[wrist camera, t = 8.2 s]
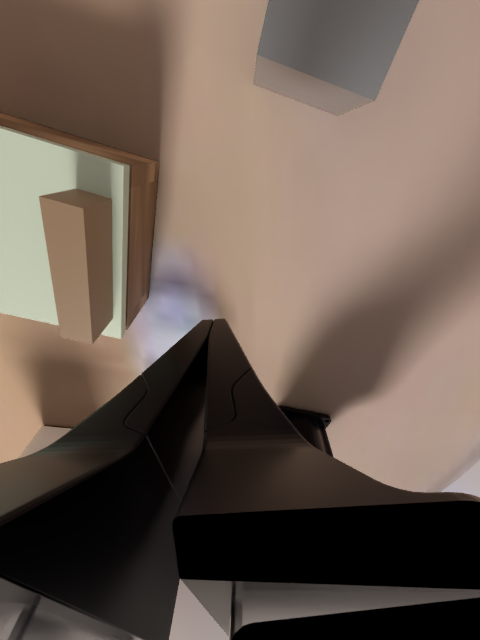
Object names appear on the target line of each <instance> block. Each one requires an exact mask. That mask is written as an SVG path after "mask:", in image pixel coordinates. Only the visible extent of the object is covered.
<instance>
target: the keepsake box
mask: <svg viewBox="0 0 480 640" xmlns="http://www.w3.org/2000/svg"><path fill="white" fill-rule="evenodd" d="M0 126H4V127H7V128H10V129H13V130H17V131H20V132H23V133H26V134H30V135H33V136H36V137H39V138H43V139H46V140H49V141H52V142H56V143H59V144H62V145H65V146H69V147H72V148H75V149H78V150H81V151H85V152H88V153H91V154H94V155H98V156H101V157H104V158H107V159H111V160H114V161H117V162H120V163H124V164H127V165H130V172H129V210H128V247H127V284H126V322H125V330H127V329H128V328H129V326H130V325H131V323H132V322H133V320H134V319H135V317H136V316H137V314H138V313H139V311H140V310H141V308H142V307H143V305H144V304H145V302H146V301H147V299H148V294H149V282H150V270H151V258H152V245H153V233H154V221H155V209H156V197H157V185H158V173H159V162H157V161H153V160H150V159H147V158H144V157H141V156H137V155H134V154H131V153H128V152H125V151H122V150H118V149H115V148H112V147H109V146H106V145H103V144H99V143H96V142H93V141H90V140H87V139H84V138H80V137H77V136H74V135H71V134H68V133H64V132H61V131H58V130H55V129H52V128H49V127H45V126H42V125H39V124H36V123H33V122H30V121H26V120H23V119H20V118H17V117H14V116H11V115H7V114H4V113H1V112H0Z"/></svg>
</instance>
